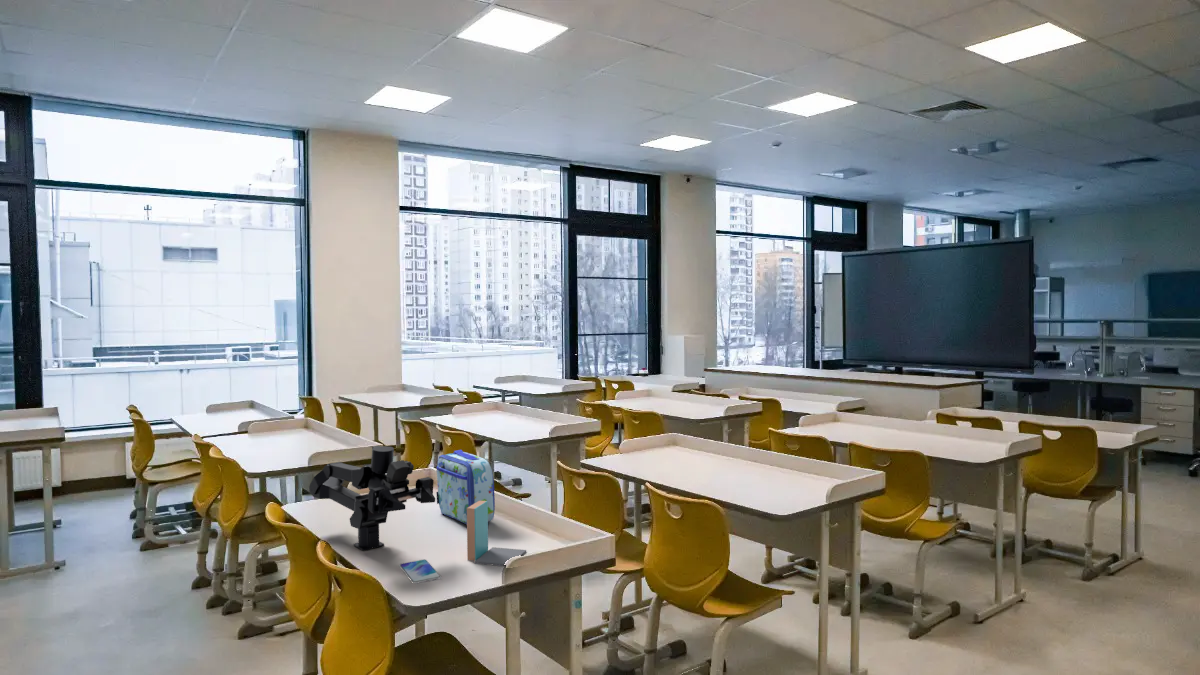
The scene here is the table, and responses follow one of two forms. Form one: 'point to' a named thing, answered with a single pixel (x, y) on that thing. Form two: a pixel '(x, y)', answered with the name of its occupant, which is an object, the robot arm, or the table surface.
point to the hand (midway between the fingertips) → (420, 503)
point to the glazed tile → (477, 530)
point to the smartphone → (420, 571)
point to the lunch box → (464, 484)
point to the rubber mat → (498, 556)
